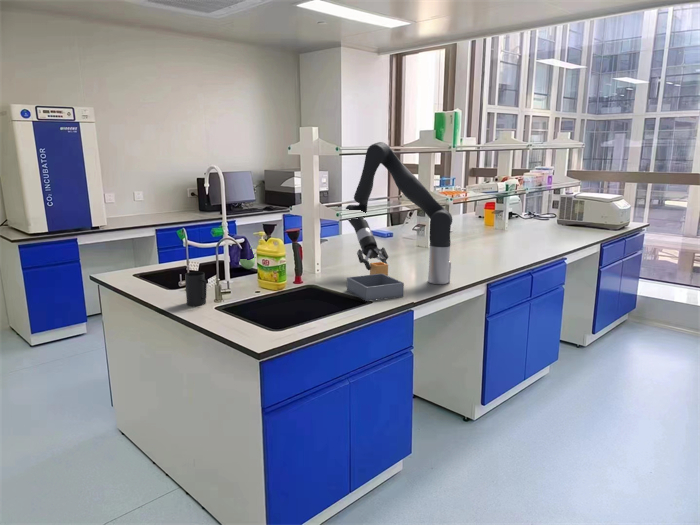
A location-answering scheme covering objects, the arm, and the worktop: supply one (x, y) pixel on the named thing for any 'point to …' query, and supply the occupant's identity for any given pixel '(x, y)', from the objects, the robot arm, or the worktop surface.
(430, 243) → the robot arm
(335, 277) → the worktop surface
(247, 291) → the worktop surface
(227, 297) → the worktop surface
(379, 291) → the big crate
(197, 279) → the black tapered tumbler
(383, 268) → the tan cardboard box
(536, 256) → the worktop surface
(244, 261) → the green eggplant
